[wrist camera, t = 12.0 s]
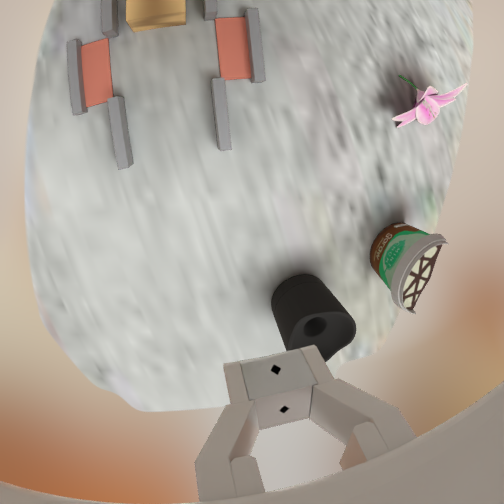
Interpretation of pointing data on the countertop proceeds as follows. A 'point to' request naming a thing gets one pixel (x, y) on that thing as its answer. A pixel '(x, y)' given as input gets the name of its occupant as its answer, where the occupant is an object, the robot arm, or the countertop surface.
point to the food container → (405, 261)
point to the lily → (427, 105)
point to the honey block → (154, 14)
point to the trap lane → (100, 90)
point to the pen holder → (311, 316)
